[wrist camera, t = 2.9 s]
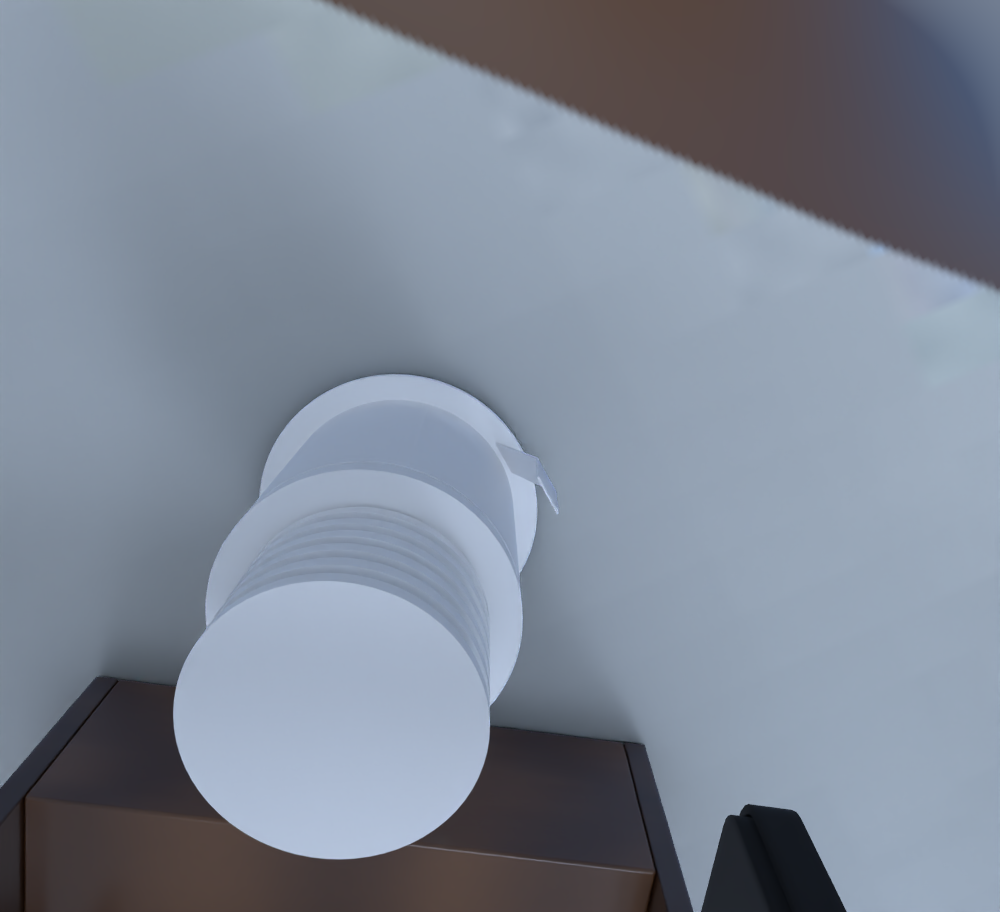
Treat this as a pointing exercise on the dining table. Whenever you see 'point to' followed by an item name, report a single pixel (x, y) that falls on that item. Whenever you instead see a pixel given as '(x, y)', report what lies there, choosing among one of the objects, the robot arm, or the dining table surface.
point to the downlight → (362, 621)
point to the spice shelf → (315, 881)
